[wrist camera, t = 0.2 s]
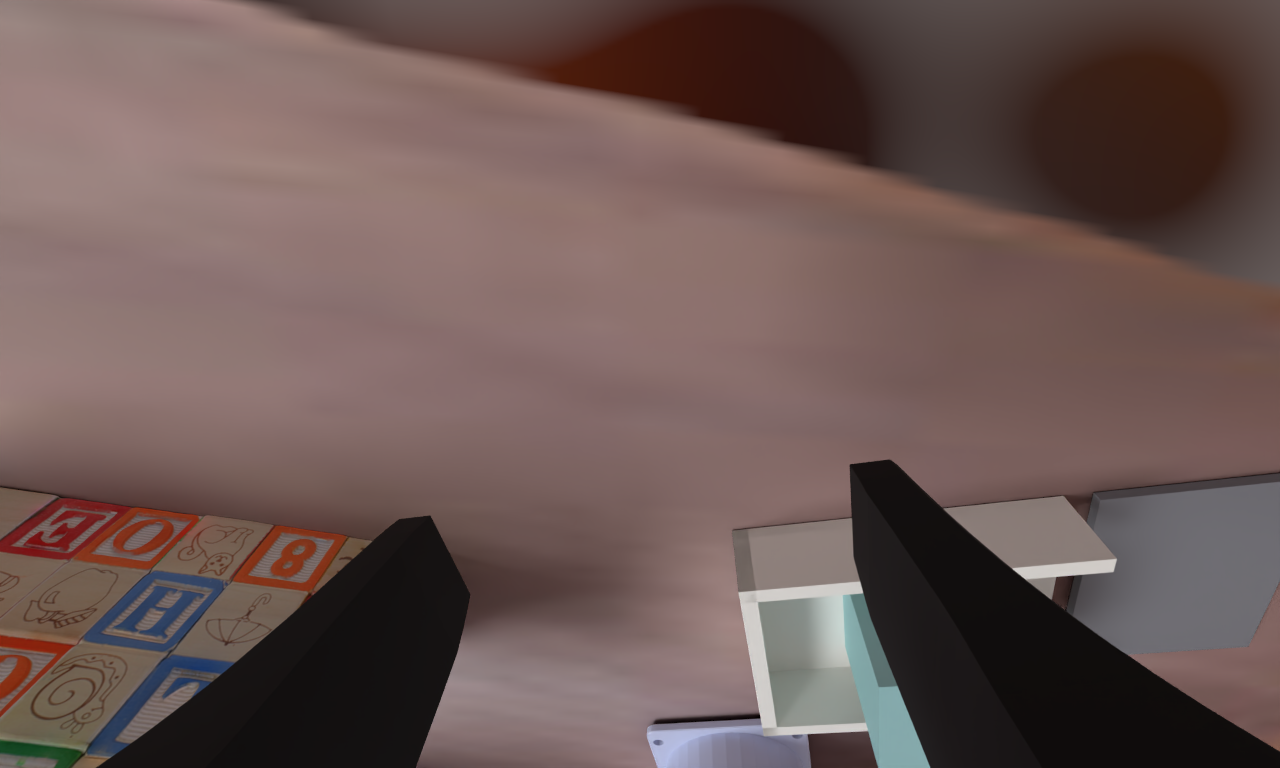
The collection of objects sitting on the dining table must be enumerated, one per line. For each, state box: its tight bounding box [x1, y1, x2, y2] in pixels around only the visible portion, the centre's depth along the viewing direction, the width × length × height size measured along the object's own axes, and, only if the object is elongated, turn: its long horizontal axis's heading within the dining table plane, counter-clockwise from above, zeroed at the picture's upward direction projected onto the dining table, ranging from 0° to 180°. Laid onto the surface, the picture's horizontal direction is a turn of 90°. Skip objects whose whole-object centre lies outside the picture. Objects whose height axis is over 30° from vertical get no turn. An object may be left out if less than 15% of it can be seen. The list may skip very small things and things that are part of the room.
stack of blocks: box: [0, 487, 372, 768], centre depth 21 cm, size 21×6×12 cm, turn 82°
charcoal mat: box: [1066, 473, 1280, 655], centre depth 22 cm, size 9×7×1 cm
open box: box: [732, 496, 1117, 736], centre depth 23 cm, size 9×12×3 cm
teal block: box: [843, 593, 930, 768], centre depth 21 cm, size 5×5×5 cm
